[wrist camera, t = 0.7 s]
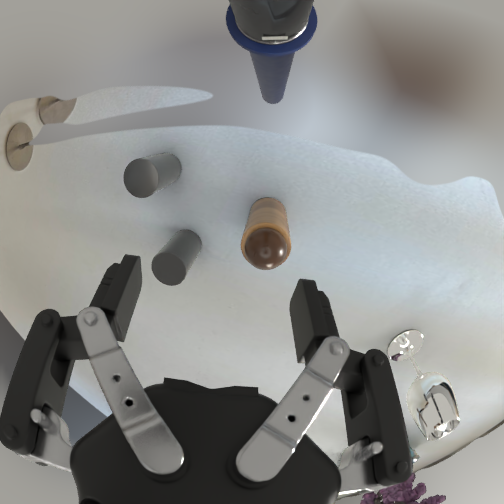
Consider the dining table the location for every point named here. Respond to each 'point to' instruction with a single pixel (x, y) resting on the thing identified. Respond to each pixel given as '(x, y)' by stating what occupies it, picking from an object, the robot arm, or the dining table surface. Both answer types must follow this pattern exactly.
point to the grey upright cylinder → (176, 257)
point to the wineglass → (426, 391)
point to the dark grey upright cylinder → (151, 174)
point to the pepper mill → (266, 235)
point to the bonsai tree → (402, 492)
